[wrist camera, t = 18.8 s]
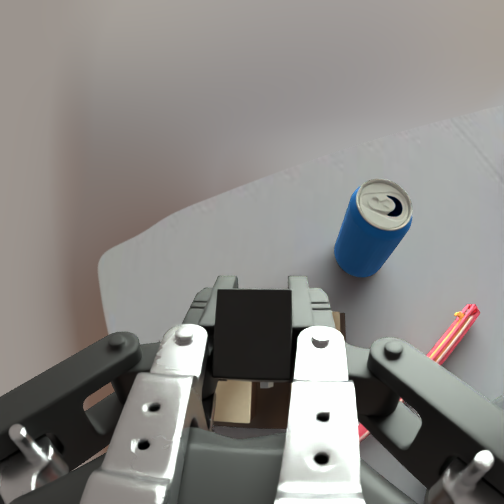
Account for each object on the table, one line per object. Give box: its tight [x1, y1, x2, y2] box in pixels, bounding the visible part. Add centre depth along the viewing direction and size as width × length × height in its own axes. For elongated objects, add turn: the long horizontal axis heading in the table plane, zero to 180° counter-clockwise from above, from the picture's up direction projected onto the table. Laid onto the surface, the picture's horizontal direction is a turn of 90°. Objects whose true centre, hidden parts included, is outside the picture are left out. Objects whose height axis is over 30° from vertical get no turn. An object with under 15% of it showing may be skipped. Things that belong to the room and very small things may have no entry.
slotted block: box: [213, 312, 346, 429], centre depth 29 cm, size 16×13×8 cm
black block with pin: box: [211, 288, 292, 388], centre depth 15 cm, size 2×3×17 cm, turn 178°
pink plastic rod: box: [358, 304, 480, 443], centre depth 30 cm, size 24×2×5 cm
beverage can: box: [334, 179, 413, 277], centre depth 32 cm, size 6×6×12 cm
